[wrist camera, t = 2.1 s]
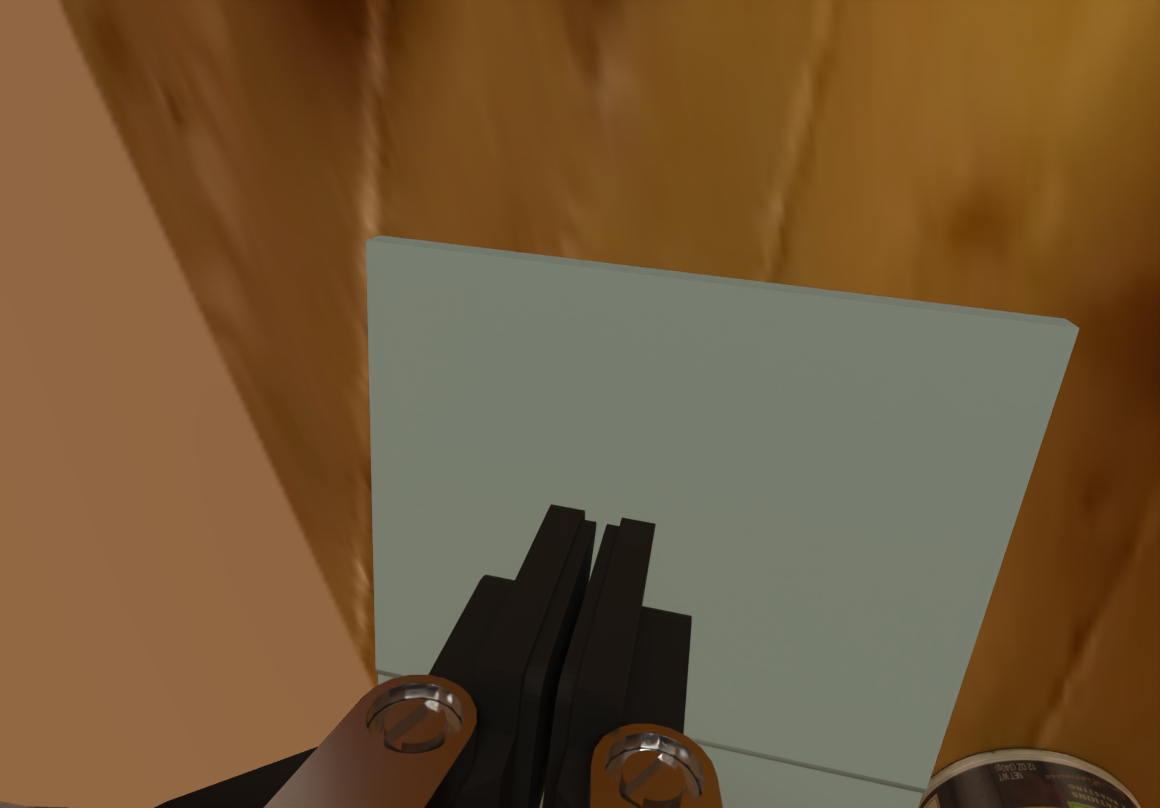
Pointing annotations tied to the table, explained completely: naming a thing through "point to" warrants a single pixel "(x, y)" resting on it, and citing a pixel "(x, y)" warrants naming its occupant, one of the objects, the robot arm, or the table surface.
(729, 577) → the flap
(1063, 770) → the coffee can
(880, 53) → the table surface
